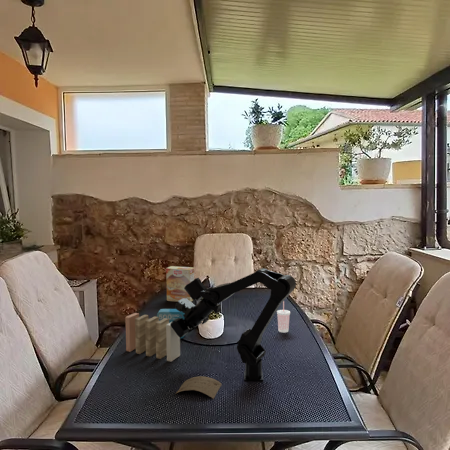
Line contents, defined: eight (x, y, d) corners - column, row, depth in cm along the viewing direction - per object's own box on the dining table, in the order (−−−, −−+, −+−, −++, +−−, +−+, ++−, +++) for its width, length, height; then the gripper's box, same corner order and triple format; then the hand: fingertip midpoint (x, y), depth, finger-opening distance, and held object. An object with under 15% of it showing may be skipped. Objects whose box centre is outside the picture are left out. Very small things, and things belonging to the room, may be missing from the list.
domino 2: (159, 350, 158) (158, 317, 157) (150, 356, 153) (149, 321, 151) (155, 349, 159) (154, 316, 158) (146, 355, 154) (145, 320, 152)
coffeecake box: (166, 301, 229) (165, 268, 227) (171, 297, 236) (171, 265, 234) (190, 303, 224) (189, 269, 223) (194, 299, 231) (194, 267, 229)
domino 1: (149, 348, 160) (148, 315, 159) (139, 354, 155) (138, 319, 154) (145, 347, 161) (144, 314, 160) (135, 353, 156) (135, 318, 155)
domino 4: (180, 355, 153) (179, 320, 152) (171, 361, 148) (170, 325, 147) (175, 354, 154) (175, 320, 153) (166, 360, 149) (166, 324, 148)
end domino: (139, 346, 162) (139, 313, 161) (130, 351, 157) (129, 317, 156) (136, 345, 163) (135, 312, 162) (126, 350, 158) (125, 317, 157)
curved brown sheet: (172, 396, 124) (172, 388, 124) (183, 381, 134) (182, 373, 134) (217, 401, 121) (217, 393, 121) (224, 385, 131) (224, 377, 131)
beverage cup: (285, 327, 184) (286, 298, 182) (292, 332, 178) (293, 301, 177) (274, 329, 182) (274, 299, 180) (280, 333, 176) (281, 303, 175)
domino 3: (169, 353, 156) (169, 318, 154) (160, 359, 150) (159, 323, 149) (165, 352, 157) (164, 318, 155) (156, 357, 151) (155, 322, 150)
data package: (157, 338, 171) (156, 311, 170) (159, 334, 175) (158, 308, 174) (184, 338, 171) (184, 311, 170) (185, 334, 175) (185, 308, 174)
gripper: (201, 287, 154) (178, 310, 160) (174, 299, 137) (149, 324, 143) (219, 309, 151) (195, 332, 157) (193, 324, 134) (167, 349, 140)
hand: (177, 334), depth 149 cm, fingers closed
